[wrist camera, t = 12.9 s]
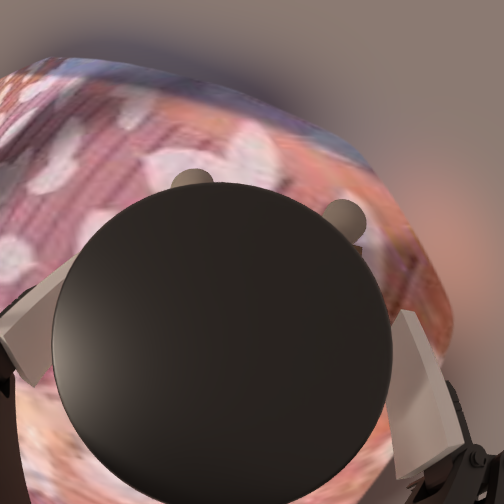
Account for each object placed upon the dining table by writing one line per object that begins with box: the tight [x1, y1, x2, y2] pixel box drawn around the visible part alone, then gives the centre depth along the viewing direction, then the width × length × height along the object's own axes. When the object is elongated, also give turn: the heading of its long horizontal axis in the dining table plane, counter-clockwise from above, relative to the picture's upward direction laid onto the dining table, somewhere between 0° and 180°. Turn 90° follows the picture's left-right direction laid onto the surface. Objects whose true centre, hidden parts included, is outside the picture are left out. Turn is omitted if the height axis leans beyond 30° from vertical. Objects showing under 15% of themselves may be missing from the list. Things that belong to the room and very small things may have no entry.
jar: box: [51, 182, 393, 504], centre depth 11 cm, size 9×8×12 cm
